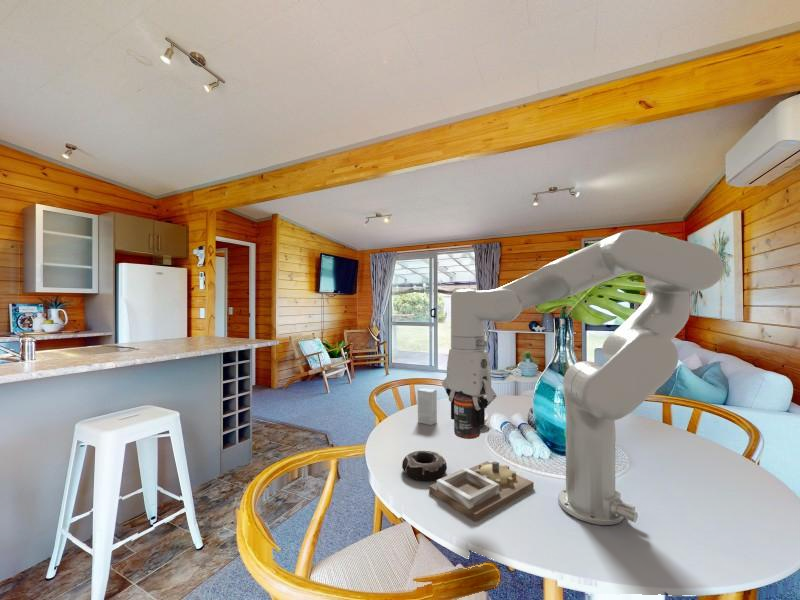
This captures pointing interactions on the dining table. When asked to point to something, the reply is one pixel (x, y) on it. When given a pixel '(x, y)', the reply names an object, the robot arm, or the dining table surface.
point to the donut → (424, 465)
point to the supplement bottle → (464, 416)
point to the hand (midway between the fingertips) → (467, 421)
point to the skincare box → (427, 406)
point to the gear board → (480, 489)
